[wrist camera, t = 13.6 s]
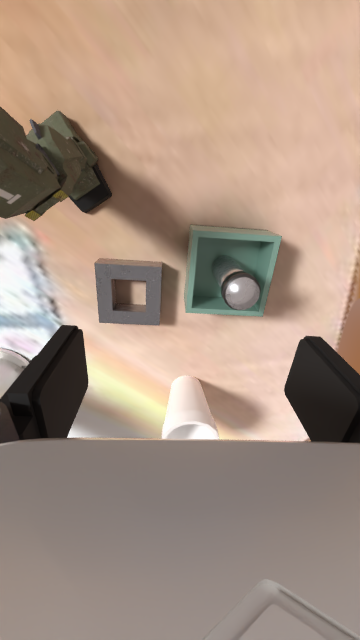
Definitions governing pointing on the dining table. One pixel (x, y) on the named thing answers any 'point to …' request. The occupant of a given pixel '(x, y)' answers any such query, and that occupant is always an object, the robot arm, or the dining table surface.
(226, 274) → the metal peg
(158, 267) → the socket block
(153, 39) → the dining table surface
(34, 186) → the mechanical leg
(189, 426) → the foam cup
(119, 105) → the dining table surface
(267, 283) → the bin
